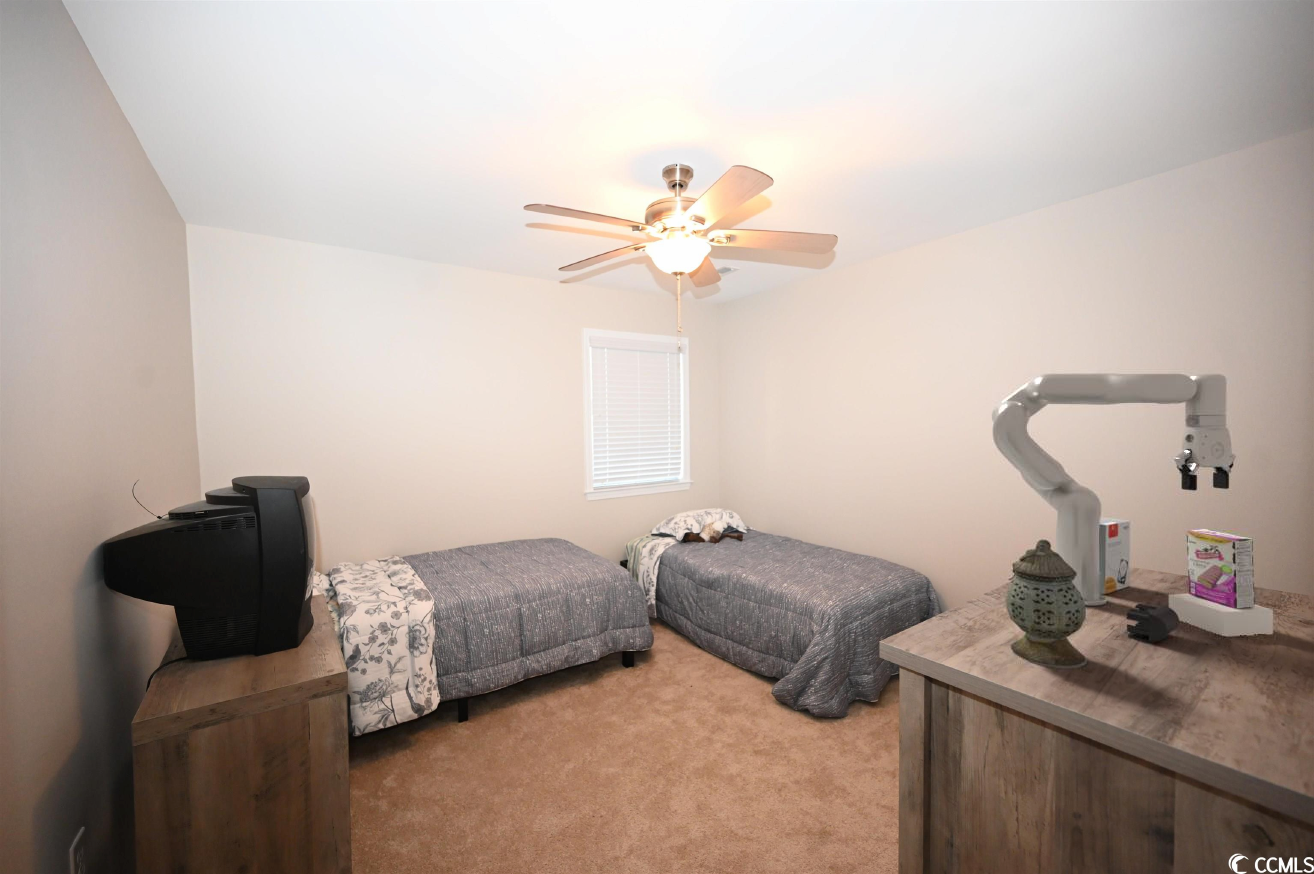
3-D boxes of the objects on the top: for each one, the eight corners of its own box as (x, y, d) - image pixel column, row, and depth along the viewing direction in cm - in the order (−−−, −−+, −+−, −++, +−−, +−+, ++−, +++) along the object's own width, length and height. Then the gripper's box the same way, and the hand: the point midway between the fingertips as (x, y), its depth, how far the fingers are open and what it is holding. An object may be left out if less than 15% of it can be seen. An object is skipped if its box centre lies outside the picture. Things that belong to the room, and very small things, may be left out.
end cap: (1166, 648, 123) (1166, 617, 123) (1126, 638, 129) (1126, 609, 128) (1179, 636, 129) (1179, 607, 128) (1140, 628, 134) (1140, 600, 134)
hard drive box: (1105, 595, 158) (1104, 525, 158) (1074, 588, 165) (1073, 521, 164) (1130, 586, 166) (1130, 519, 165) (1100, 580, 172) (1100, 516, 172)
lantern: (1046, 672, 113) (1045, 549, 112) (991, 645, 127) (990, 535, 126) (1104, 664, 115) (1103, 544, 115) (1043, 638, 129) (1043, 531, 129)
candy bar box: (1187, 594, 140) (1184, 529, 139) (1205, 592, 140) (1203, 528, 140) (1236, 610, 129) (1234, 539, 128) (1256, 607, 129) (1254, 537, 129)
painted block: (1223, 638, 128) (1223, 612, 128) (1168, 618, 141) (1168, 594, 141) (1272, 635, 129) (1273, 609, 128) (1213, 616, 142) (1213, 592, 141)
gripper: (1193, 423, 138) (1192, 492, 139) (1250, 421, 141) (1250, 489, 141) (1161, 423, 146) (1161, 488, 146) (1216, 421, 148) (1216, 486, 149)
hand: (1205, 489), depth 144 cm, fingers open, 9 cm apart
